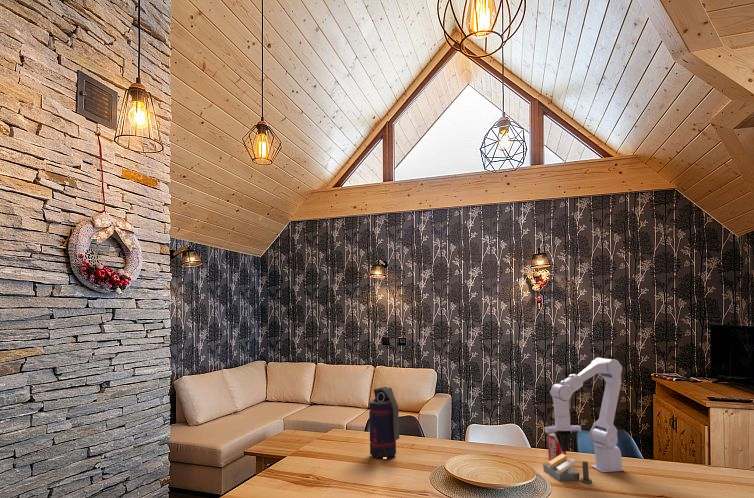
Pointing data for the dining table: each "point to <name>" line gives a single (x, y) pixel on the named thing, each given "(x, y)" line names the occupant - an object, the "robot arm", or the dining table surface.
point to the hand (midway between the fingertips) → (564, 450)
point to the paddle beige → (566, 465)
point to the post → (585, 473)
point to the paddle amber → (557, 460)
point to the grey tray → (561, 473)
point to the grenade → (383, 423)
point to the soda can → (554, 447)
